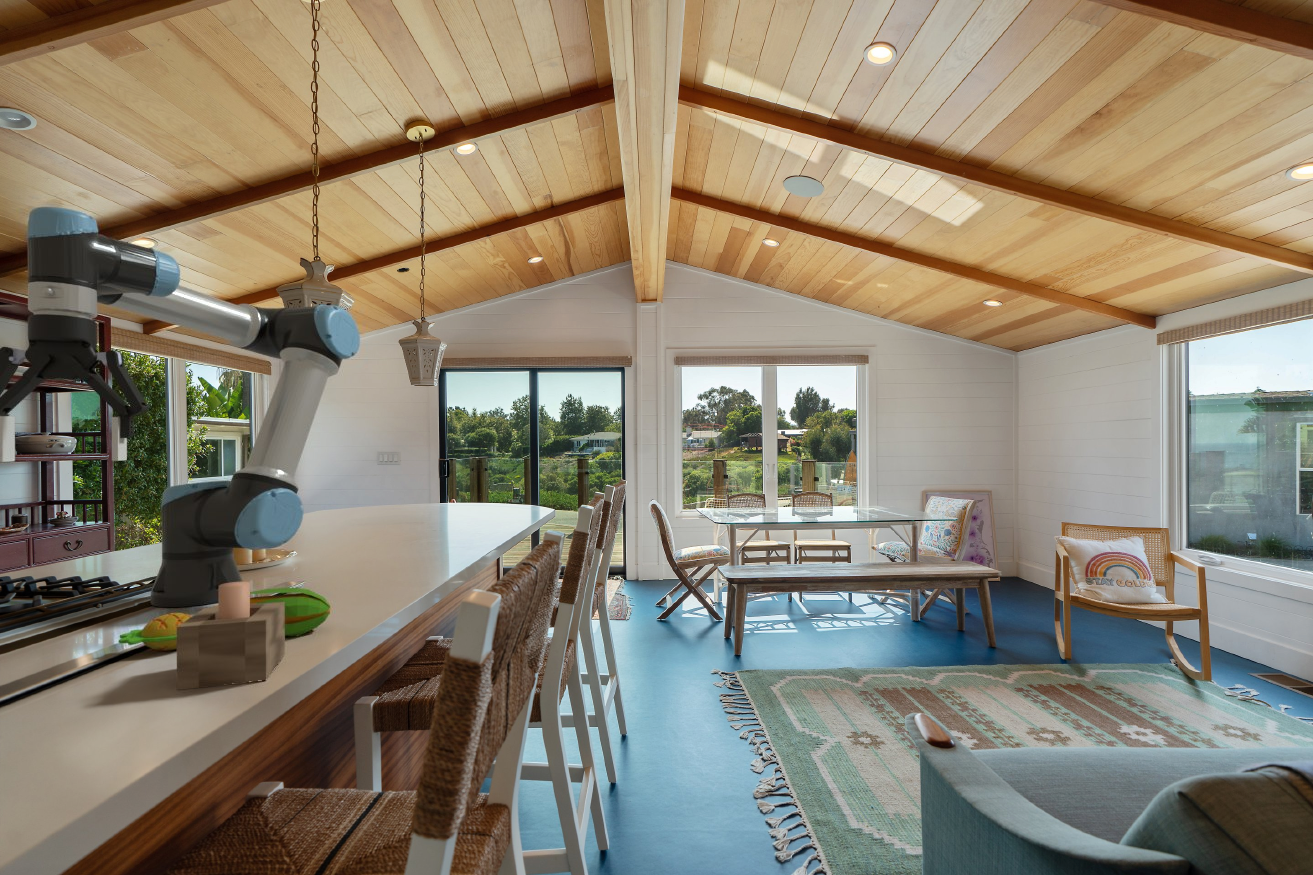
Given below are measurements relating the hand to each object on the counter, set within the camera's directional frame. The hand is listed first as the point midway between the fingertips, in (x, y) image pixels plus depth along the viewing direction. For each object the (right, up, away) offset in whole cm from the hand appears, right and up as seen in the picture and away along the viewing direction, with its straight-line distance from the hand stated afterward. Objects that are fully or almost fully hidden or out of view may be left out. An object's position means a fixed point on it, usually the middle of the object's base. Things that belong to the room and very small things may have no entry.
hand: (63, 461), depth 95 cm
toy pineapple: (+12, -29, +3) cm, 32 cm away
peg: (+29, -29, -7) cm, 41 cm away
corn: (+23, -29, +10) cm, 38 cm away
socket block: (+29, -29, -6) cm, 42 cm away
